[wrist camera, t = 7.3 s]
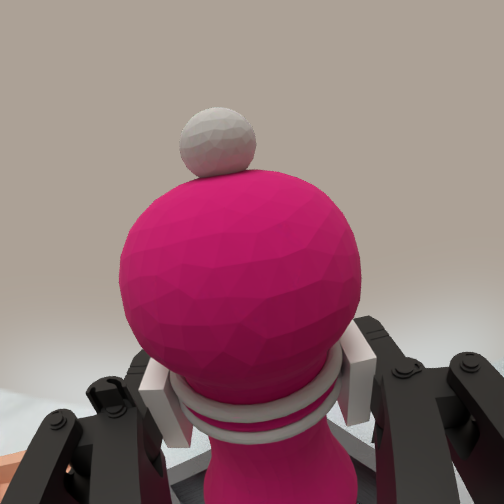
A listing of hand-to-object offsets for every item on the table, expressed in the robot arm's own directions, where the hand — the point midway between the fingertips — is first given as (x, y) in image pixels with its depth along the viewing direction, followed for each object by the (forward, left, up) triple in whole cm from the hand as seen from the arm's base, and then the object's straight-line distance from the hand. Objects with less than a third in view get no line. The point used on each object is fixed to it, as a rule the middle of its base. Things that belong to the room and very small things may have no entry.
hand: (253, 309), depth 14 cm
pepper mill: (+3, +4, -12) cm, 13 cm away
